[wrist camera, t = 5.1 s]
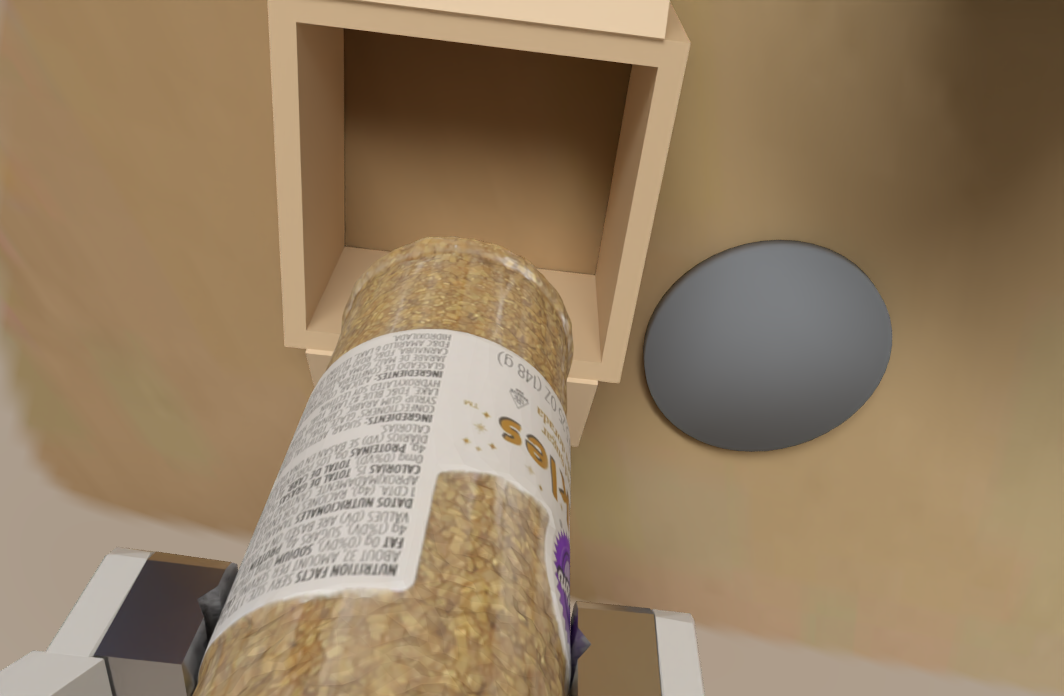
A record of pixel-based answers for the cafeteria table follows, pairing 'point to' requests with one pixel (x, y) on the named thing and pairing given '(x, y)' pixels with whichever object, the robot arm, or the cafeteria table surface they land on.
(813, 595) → the cafeteria table surface
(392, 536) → the sprinkles bottle
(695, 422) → the coaster
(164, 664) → the robot arm
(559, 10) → the carton
